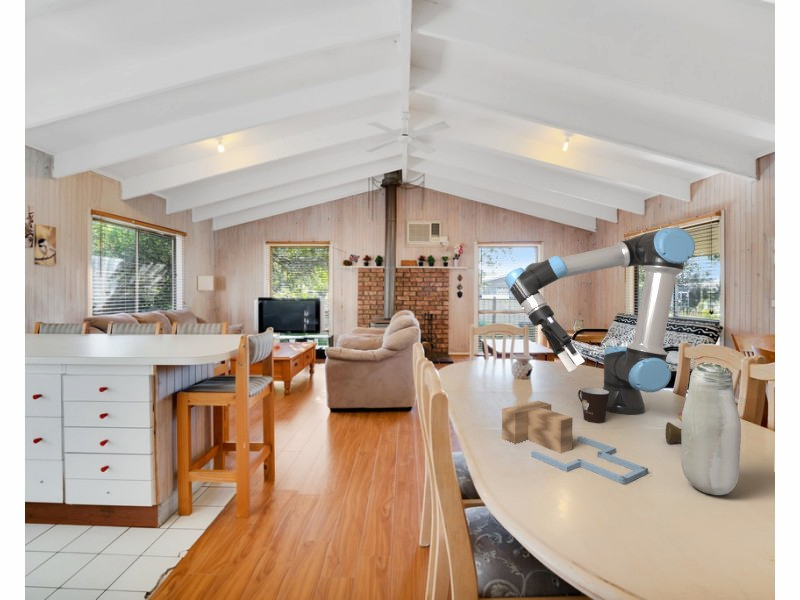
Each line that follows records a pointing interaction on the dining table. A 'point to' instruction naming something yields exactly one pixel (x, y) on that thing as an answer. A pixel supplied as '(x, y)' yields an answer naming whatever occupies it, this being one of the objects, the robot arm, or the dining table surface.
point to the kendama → (672, 433)
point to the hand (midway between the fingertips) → (576, 367)
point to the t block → (537, 426)
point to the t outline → (604, 454)
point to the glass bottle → (711, 431)
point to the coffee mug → (594, 404)
